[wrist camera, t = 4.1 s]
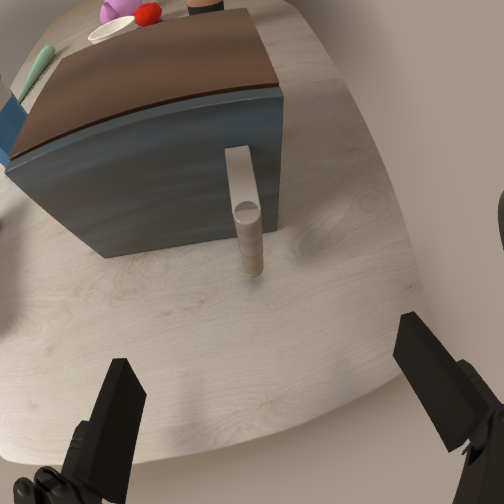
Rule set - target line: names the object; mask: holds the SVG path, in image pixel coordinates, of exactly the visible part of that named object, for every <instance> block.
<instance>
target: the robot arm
mask: <svg viewBox="0 0 504 504" xmlns="http://www.w3.org/2000/svg"><path fill="white" fill-rule="evenodd" d="M393 357H394V359H395V360H396V362H397V363H398V365H399V367H400V368H401V370H402V371H403V373H404V374H405V376H406V378H407V380H408V381H409V383H410V384H411V386H412V388H413V390H414V391H415V393H416V395H417V396H418V398H419V400H420V401H421V403H422V405H423V407H424V408H425V410H426V412H427V414H428V415H429V417H430V419H431V421H432V423H433V424H434V426H435V428H436V430H437V432H438V433H439V435H440V437H441V439H442V441H443V442H444V445H445V446H446V448H447V450H448V452H451V451H453V450H455V449H457V448H458V447H460V446H462V445H463V444H464V443H465V441H466V440H467V439H469V440H470V443H469V445H468V446H467V447H466V448H465V449H464V450H463V452H462V455H464V454H465V453H466V452H467V455H466V459H465V464H464V468H463V471H462V475H461V478H460V482H459V485H458V488H457V491H456V495H455V498H454V500H453V503H452V504H504V404H502V403H501V402H500V401H499V400H498V399H497V397H496V396H495V395H494V394H493V392H492V391H491V389H490V388H489V387H488V385H487V384H486V383H485V381H483V380H482V378H481V376H480V375H479V374H478V372H477V371H476V370H475V369H474V367H473V366H472V365H471V364H470V363H468V362H466V361H465V360H463V359H462V360H460V361H458V362H456V361H455V360H454V359H453V358H452V356H451V355H450V354H449V353H448V351H447V350H446V349H445V348H444V346H443V345H442V344H441V343H440V342H439V340H438V339H437V338H436V337H435V336H434V334H433V333H432V332H431V331H430V329H429V328H428V327H427V326H426V325H425V324H424V322H423V321H422V320H421V319H420V318H419V317H418V315H417V314H416V313H415V312H414V311H413V312H410V313H406V314H403V315H401V318H400V324H399V329H398V334H397V339H396V344H395V348H394V353H393ZM146 396H147V394H146V393H145V391H144V389H143V387H142V386H141V384H140V382H139V380H138V379H137V377H136V375H135V373H134V371H133V370H132V368H131V366H130V364H129V362H128V360H127V358H117V359H113V360H112V362H111V365H110V367H109V370H108V372H107V375H106V377H105V380H104V382H103V385H102V387H101V390H100V392H99V395H98V398H97V400H96V403H95V406H94V409H93V411H92V414H91V417H90V420H89V421H83V420H82V421H81V422H80V424H79V425H78V426H77V427H76V428H75V431H74V434H73V437H72V440H71V442H70V447H69V448H68V451H67V454H66V457H65V461H64V464H63V467H62V470H61V473H59V472H57V471H56V470H55V469H53V468H52V467H49V466H45V467H41V468H40V469H38V471H37V472H36V474H35V476H34V483H33V482H32V481H31V480H29V479H27V478H24V477H22V478H19V479H18V480H17V481H16V482H15V484H14V487H13V493H14V503H15V504H102V503H101V502H102V498H104V499H105V500H107V501H108V502H111V503H116V504H125V502H126V495H127V489H128V483H129V477H130V471H131V466H132V461H133V455H134V450H135V445H136V440H137V436H138V431H139V426H140V422H141V417H142V413H143V408H144V404H145V400H146Z"/></svg>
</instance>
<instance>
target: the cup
mask: <svg viewBox="0 0 504 504" xmlns="http://www.w3.org/2000/svg"><path fill="white" fill-rule="evenodd" d="M134 20H135V17H134V16H125V17H121V18H118V19H115V20H112V21H110V22H108V23H106V24H104V25H102V26H100V27H99V28H97V29H96V30H95V31H93V32H92V33H91V34H90V35H89V37H88V39H89V40H91V42H92V43H93V44H96V43H99V42H101V41H104V40H107V39H109V38H112V37H115V36H118V35H121V34H123V33H126V32H129V31H133V30H135V21H134Z"/></svg>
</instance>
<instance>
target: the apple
mask: <svg viewBox="0 0 504 504" xmlns="http://www.w3.org/2000/svg"><path fill="white" fill-rule="evenodd" d="M161 13H162V9H161V8H160V6H158V5H157V4H155V3H147V4H144V5H142V6H140V7H138V8H137V9H136V10H135V12H134V17H135V20H134V21H135V23H137V24H138V25H139V26H141V27H146V26H149V25H153V24H155V23H156V22H157V21H158V19H159V18H160V16H161Z"/></svg>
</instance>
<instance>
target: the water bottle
mask: <svg viewBox="0 0 504 504" xmlns="http://www.w3.org/2000/svg"><path fill="white" fill-rule="evenodd" d="M27 116H28V114H27V113H26V111H25V110H24V108H23V107H22V106H21V104H20V103H19V101H18V100H17V99H16V97H15V96H14V94H13V93H12V91H11V90H10V89H9V87H8V86H7V84H6V83H5V81H4V80H3V78H2V77H1V75H0V163H1V164H2V165H3V166H4V167H5V168H6V167H7V164H8V163H9V162H10V161H9V160H8V158H9V155H10V153H11V150H12V148H13V146H14V144H15V141H16V139H17V137H18V135H19V133H20V130H21V128H22V126H23V124H24V122H25V120H26V118H27Z"/></svg>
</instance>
